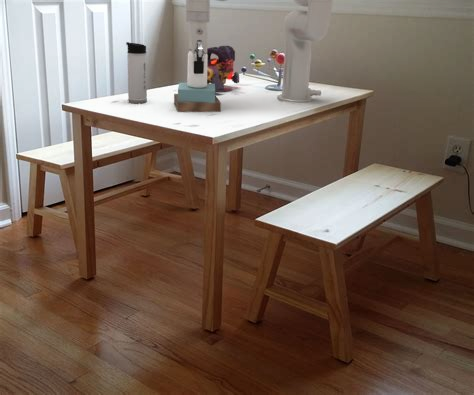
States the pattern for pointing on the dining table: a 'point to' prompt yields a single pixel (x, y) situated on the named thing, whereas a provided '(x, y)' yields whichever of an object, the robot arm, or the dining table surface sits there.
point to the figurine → (221, 68)
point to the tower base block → (197, 106)
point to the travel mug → (137, 73)
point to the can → (196, 79)
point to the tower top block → (196, 93)
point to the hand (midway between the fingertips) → (196, 71)
